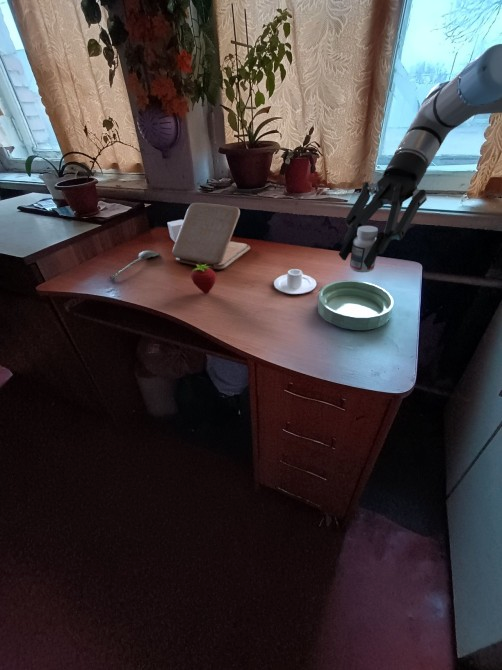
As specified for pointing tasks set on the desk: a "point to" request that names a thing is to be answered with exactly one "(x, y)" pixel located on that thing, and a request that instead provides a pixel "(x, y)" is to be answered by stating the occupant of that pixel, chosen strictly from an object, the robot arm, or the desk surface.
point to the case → (209, 236)
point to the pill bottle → (362, 248)
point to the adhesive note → (174, 228)
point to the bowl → (355, 305)
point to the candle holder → (295, 282)
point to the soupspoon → (141, 256)
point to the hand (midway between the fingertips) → (354, 261)
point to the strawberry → (203, 278)
